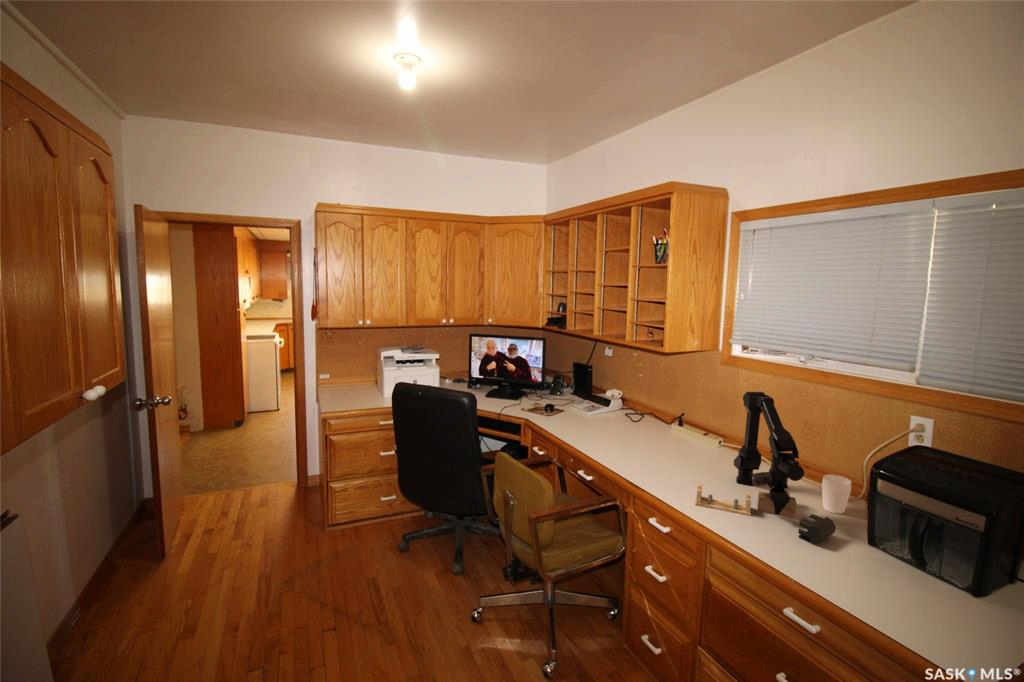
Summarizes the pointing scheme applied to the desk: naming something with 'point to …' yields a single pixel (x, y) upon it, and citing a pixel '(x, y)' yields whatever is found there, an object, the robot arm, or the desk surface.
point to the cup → (835, 493)
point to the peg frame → (724, 503)
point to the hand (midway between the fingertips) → (775, 508)
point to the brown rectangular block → (768, 506)
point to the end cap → (816, 529)
